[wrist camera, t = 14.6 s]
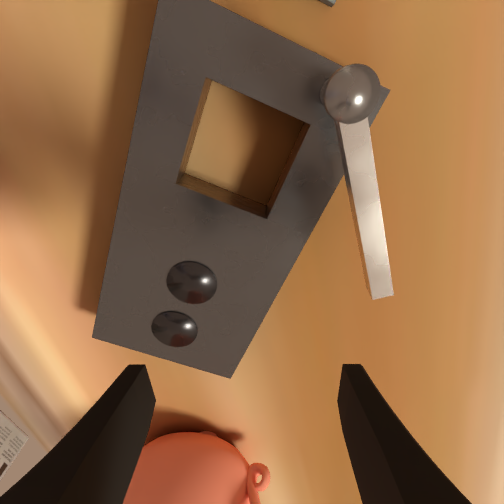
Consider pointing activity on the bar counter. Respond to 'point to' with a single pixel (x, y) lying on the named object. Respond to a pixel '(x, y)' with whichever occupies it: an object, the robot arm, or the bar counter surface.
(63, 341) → the bar counter surface
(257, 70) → the grey lever panel
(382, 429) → the robot arm
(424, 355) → the bar counter surface
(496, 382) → the bar counter surface
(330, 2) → the mat
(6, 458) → the coffee box
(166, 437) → the sugar bowl
